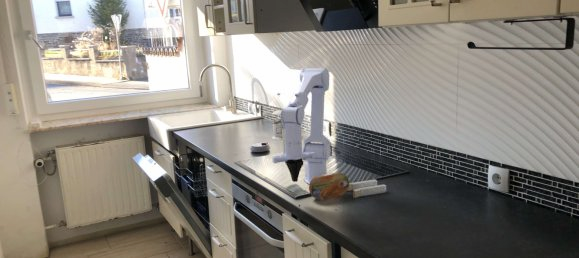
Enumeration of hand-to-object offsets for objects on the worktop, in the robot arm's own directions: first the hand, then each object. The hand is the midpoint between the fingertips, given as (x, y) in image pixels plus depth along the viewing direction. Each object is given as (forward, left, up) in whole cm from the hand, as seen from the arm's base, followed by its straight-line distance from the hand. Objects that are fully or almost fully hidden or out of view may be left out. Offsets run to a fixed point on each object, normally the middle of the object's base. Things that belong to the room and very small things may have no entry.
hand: (294, 180), depth 165 cm
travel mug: (-62, +20, -8) cm, 66 cm away
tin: (0, +13, -8) cm, 15 cm away
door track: (0, +27, -8) cm, 28 cm away
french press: (-102, +28, -8) cm, 106 cm away
